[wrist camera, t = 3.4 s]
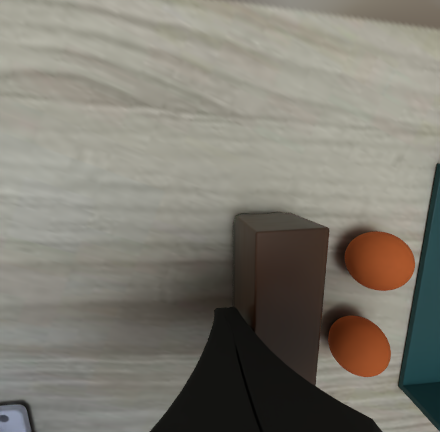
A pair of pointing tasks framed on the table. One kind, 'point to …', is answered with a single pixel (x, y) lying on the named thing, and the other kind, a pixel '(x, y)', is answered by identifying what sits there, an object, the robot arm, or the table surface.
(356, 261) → the ball
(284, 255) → the brush
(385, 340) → the ball
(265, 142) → the table surface
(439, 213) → the dustpan
